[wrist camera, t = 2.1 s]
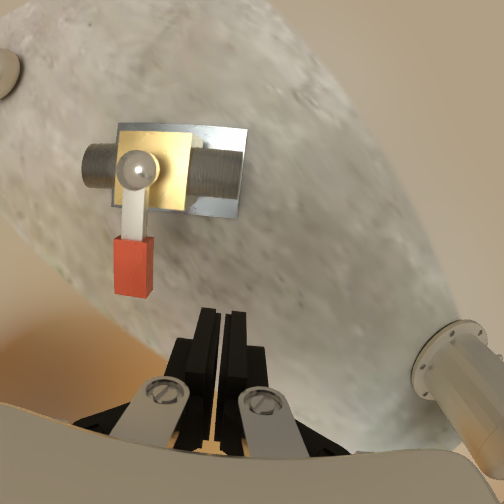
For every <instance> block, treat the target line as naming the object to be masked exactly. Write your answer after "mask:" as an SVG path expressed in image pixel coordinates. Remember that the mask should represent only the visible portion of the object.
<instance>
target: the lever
mask: <svg viewBox="0 0 504 504" xmlns="http://www.w3.org/2000/svg"><path fill="white" fill-rule="evenodd" d="M116 175H117V179H118V181H119V183H120V184H121V185H122V186H123V202H122V228H121V235H120V236H118V237H116V238H115V239H114V289H115V294H120V295H126V296H132V297H139V298H145V299H146V298H147V297H148V295H149V294H150V293H151V291H152V290H153V249H154V237H147V219H148V202H149V188H150V186H151V185H153V184H154V183H155V181H156V180H157V178H158V175H159V163H158V161H157V159H156V157H155V156H154V155H153V154H152V153H150V152H148V151H142V150H131V151H128V152H127V153H125V154H124V155H123V156H122V157H121V158H120V159H119V161H118V164H117V167H116Z"/></svg>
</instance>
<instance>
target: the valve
mask: <svg viewBox="0 0 504 504" xmlns="http://www.w3.org/2000/svg"><path fill="white" fill-rule="evenodd" d="M246 138H247V129H237V128H227V127H216V126H203V125H187V124H166V123H118V130H117V139H116V144H91V145H90V146H89V147H88V148H87V149H86V151H85V153H84V156H83V160H82V178H83V181H84V183H85V185H86V186H87V187H89V188H104V189H112V204H111V207H119V208H122V202H123V186H122V185H121V184H120V183H119V181H118V179H117V175H116V167H117V164H118V161H119V159H120V158H121V157H122V156H123V155H124V154H125V153H127V152H128V151H131V150H142V151H148V152H150V153H152V154H153V155H154V156H155V157H156V159H157V161H158V163H159V175H158V178H157V180H156V181H155V183H154V184H153V185H151V186H150V188H149V202H148V210H153V211H163V212H174V213H184V214H193V215H203V216H212V217H221V218H230V219H237V214H238V205H239V196H240V188H241V179H242V171H243V163H244V154H245V146H246Z"/></svg>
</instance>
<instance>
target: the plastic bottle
mask: <svg viewBox="0 0 504 504" xmlns="http://www.w3.org/2000/svg"><path fill="white" fill-rule="evenodd" d="M19 74H20V62H19V59H18V57H17V55H15V54H14V53H13V52H11V51H10V50H7V49H1V48H0V99H1V98H3V97H4V96H5V95H7V94H8V93H9V92H10V91H11V90H12V89H13V87H14V86H15V84H16V82H17V80H18V77H19Z"/></svg>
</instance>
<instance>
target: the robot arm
mask: <svg viewBox="0 0 504 504" xmlns="http://www.w3.org/2000/svg"><path fill="white" fill-rule="evenodd" d="M220 323H221V313H216V309H211V308H201V312H200V316H199V319H198V323H197V327H196V331H195V334H194V338H193V339H185V338H177V339H176V342H175V345H174V348H173V350H172V353H171V356H170V359H169V362H168V365H167V368H166V371H165V374H164V376H158V377H154V378H151V379H149V380H147V381H146V382H145V383H144V384H143V385H142V386H141V388H140V389H139V391H138V392H137V394H136V395H135V397H134V398H133V400H132V401H131V402H129V403H126V404H123V405H121V406H118V407H115V408H112V409H109V410H106V411H104V412H101V413H98V414H95V415H92V416H88V417H86V418H82V419H80V420H78V421H76V422H74V423H73V424H69V423H68V420H63V419H56V418H50V417H46V416H43V415H40V414H38V413H35V412H32V411H29V410H26V409H23V408H20V407H17V406H13V405H10V404H6V403H1V402H0V504H504V502H502V503H500V502H499V500H498V498H497V497H496V495H495V493H494V491H493V490H492V488H491V487H490V485H489V484H488V482H487V481H486V479H485V478H484V476H483V475H482V474H481V472H480V471H479V470H478V468H477V467H476V466H475V465H474V464H473V463H472V462H471V461H470V460H469V459H467V458H466V457H465V456H463V455H461V454H458V453H454V452H451V451H446V450H437V449H406V450H395V451H387V452H362V451H356V453H355V454H350V453H349V452H348V451H347V450H346V449H344V448H343V447H342V446H340V445H338V444H336V443H334V442H333V441H331V440H329V439H327V438H326V437H324V436H322V435H321V434H319V433H317V432H315V431H314V430H312V429H310V428H309V427H307V426H305V425H304V424H302V423H301V422H299V421H297V420H296V419H294V417H293V414H292V412H291V409H290V407H289V404H288V402H287V400H286V398H285V397H284V395H282V394H281V393H280V392H279V391H276V390H274V389H272V388H269V386H268V376H267V367H266V358H265V349H264V347H260V346H248V345H247V333H246V312H239V311H232V314H226V317H225V326H224V336H223V345H222V354H221V364H220V374H219V385H218V398H217V409H216V422H215V436H214V441H219V442H220V450H221V451H223V452H225V453H226V454H227V455H219V454H208V453H200V452H192V451H194V450H196V449H197V448H202V442H203V440H209V435H210V425H211V416H212V415H211V414H212V407H213V398H214V389H215V380H216V370H217V358H218V346H219V334H220ZM502 360H503V357H502V355H496V354H494V353H493V352H492V351H491V350H490V349H489V348H488V347H487V334H486V332H485V330H484V328H483V327H482V326H480V324H478V323H477V322H475V321H472V320H461V321H457V322H455V323H452V324H450V325H448V326H447V327H445V328H444V329H442V330H441V331H440V332H438V333H437V334H436V335H435V336H434V337H433V338H432V339H431V340H430V341H429V342H428V343H427V344H426V346H425V347H424V348H423V350H422V351H421V353H420V354H419V356H418V358H417V360H416V362H415V364H414V367H413V371H412V378H411V381H412V386H413V388H414V390H415V392H416V393H417V394H418V396H419V397H421V398H422V399H425V400H436V402H437V403H438V405H439V406H440V408H441V409H442V411H443V412H444V414H445V415H446V417H447V418H448V420H449V421H450V423H451V424H452V426H453V427H454V429H455V430H456V432H457V433H458V435H459V436H460V438H461V440H462V441H463V443H464V444H465V446H466V447H467V449H468V451H469V452H470V453H471V455H472V457H473V459H474V460H475V462H476V463H477V465H478V467H479V468H480V470H481V471H482V472H483V473H484V474H485V475H486V476H488V477H489V478H492V479H496V480H504V362H503V361H502Z"/></svg>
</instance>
